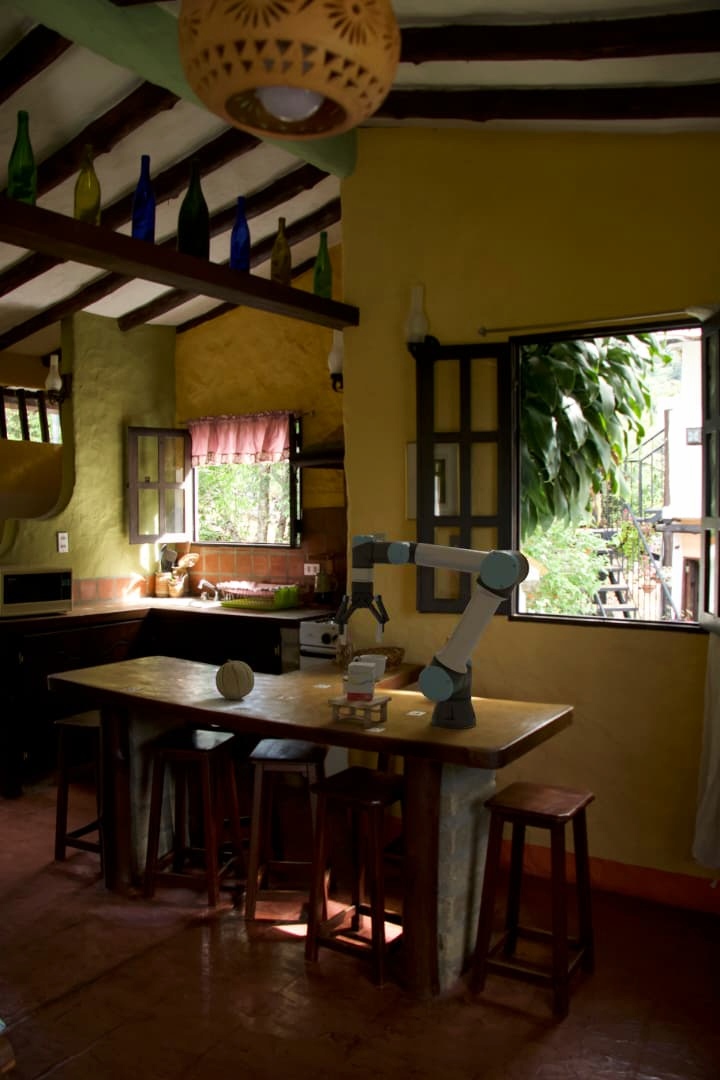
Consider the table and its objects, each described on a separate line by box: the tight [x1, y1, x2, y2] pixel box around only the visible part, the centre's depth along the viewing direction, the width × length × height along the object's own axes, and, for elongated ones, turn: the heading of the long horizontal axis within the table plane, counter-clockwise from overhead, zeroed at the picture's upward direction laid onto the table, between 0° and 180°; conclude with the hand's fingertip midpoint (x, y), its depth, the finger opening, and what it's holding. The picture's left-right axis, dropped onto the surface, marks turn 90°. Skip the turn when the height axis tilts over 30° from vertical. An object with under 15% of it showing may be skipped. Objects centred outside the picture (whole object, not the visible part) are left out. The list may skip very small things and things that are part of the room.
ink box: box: [347, 661, 376, 701], centre depth 300 cm, size 9×9×12 cm
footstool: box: [327, 693, 393, 729], centre depth 300 cm, size 16×16×8 cm
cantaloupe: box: [215, 658, 255, 701], centre depth 334 cm, size 15×15×15 cm
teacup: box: [352, 654, 388, 682], centre depth 380 cm, size 12×15×10 cm
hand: (361, 643), depth 299 cm, fingers open, 13 cm apart
